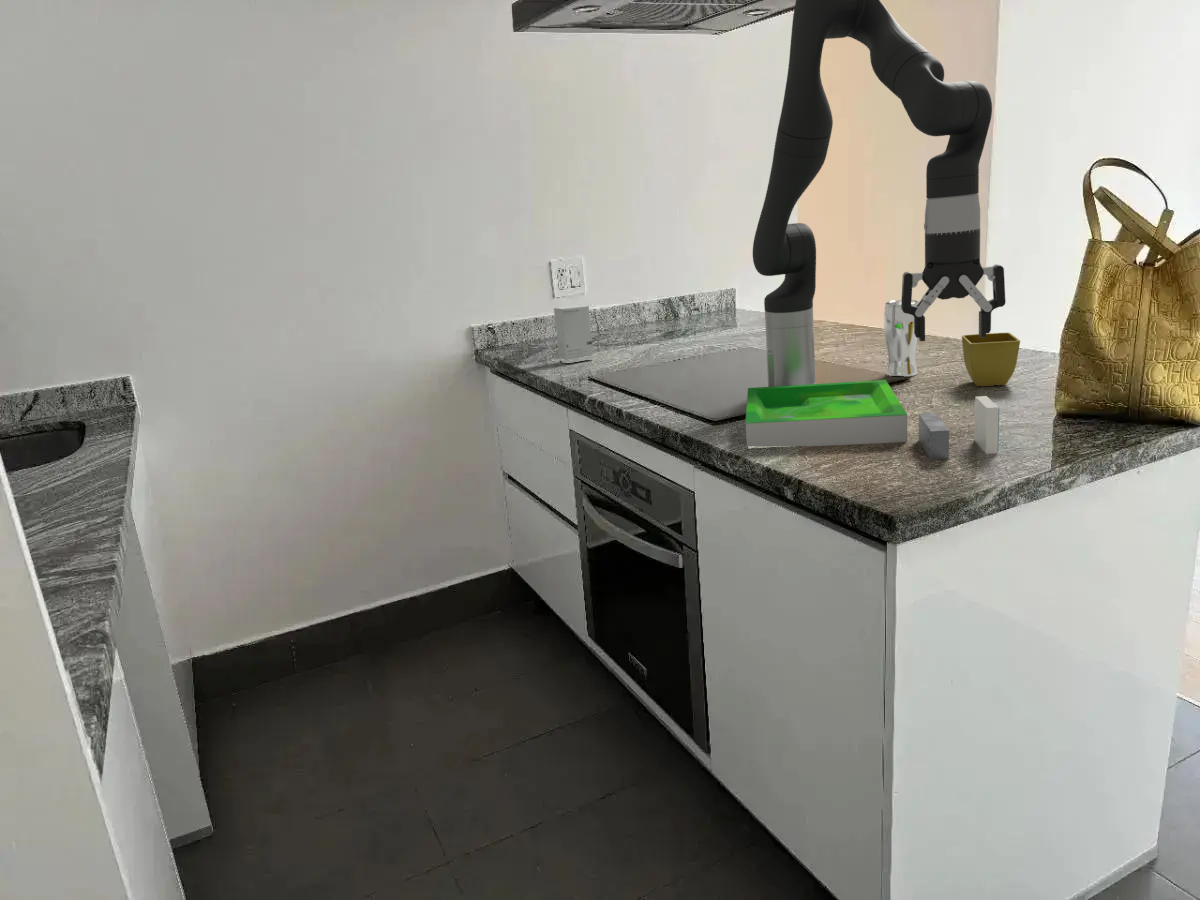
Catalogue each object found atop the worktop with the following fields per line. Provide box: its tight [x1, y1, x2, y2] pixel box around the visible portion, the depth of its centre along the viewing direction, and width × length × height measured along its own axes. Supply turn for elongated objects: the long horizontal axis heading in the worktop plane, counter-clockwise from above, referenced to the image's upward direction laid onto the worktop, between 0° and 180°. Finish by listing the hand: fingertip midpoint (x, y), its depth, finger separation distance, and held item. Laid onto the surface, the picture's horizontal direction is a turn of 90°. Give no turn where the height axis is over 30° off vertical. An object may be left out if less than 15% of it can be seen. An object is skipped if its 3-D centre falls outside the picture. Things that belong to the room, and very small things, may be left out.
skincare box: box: [553, 304, 594, 360], centre depth 233 cm, size 8×6×15 cm
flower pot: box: [961, 332, 1021, 387], centre depth 165 cm, size 9×9×9 cm
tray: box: [745, 379, 908, 447], centre depth 151 cm, size 25×25×5 cm
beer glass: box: [883, 299, 920, 378], centre depth 179 cm, size 7×7×15 cm
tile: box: [974, 395, 1000, 455], centre depth 130 cm, size 2×7×7 cm, turn 170°
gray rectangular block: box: [918, 412, 950, 460], centre depth 132 cm, size 2×10×4 cm, turn 170°
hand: (952, 338), depth 131 cm, fingers open, 8 cm apart
